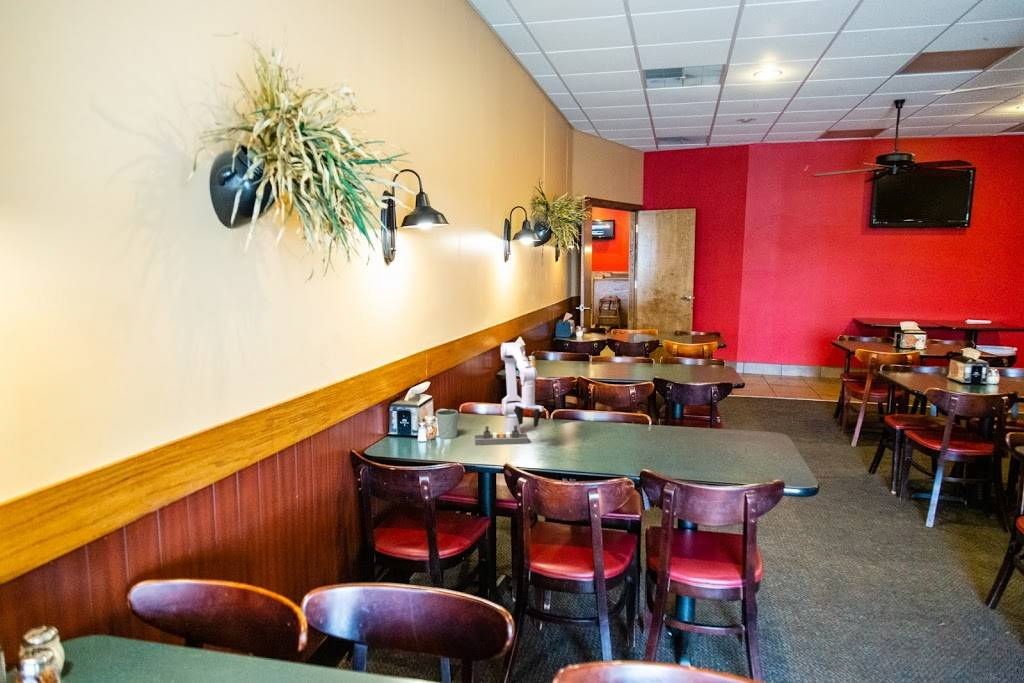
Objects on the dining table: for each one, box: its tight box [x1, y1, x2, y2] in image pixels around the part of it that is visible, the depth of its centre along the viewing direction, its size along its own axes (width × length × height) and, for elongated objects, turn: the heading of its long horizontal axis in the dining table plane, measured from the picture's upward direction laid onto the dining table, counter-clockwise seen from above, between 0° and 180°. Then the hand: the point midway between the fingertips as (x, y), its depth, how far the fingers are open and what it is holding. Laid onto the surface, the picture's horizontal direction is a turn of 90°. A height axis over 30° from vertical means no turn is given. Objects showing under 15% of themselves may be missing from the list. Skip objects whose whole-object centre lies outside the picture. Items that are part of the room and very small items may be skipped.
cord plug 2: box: [512, 425, 519, 437], centre depth 281 cm, size 3×3×5 cm
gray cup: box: [435, 409, 459, 440], centre depth 290 cm, size 10×10×12 cm
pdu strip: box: [474, 433, 529, 446], centre depth 281 cm, size 7×24×3 cm, turn 95°
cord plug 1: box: [483, 425, 492, 438], centre depth 280 cm, size 3×3×5 cm
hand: (528, 425), depth 272 cm, fingers open, 7 cm apart
